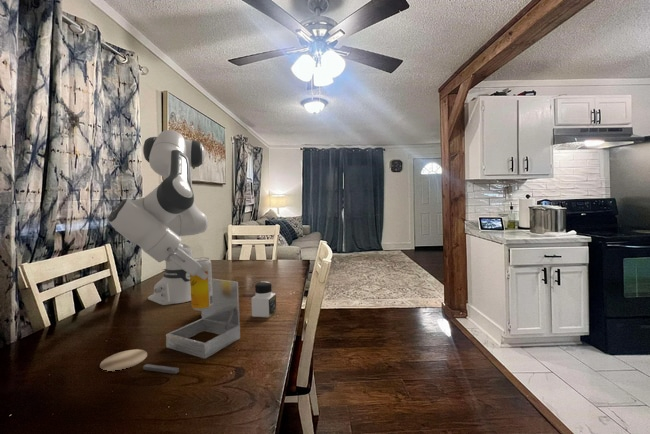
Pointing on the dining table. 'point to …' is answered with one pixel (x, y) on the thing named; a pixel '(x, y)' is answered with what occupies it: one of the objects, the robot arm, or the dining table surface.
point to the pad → (123, 360)
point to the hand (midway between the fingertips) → (203, 274)
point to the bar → (161, 368)
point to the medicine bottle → (263, 300)
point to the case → (211, 323)
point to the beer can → (202, 287)
